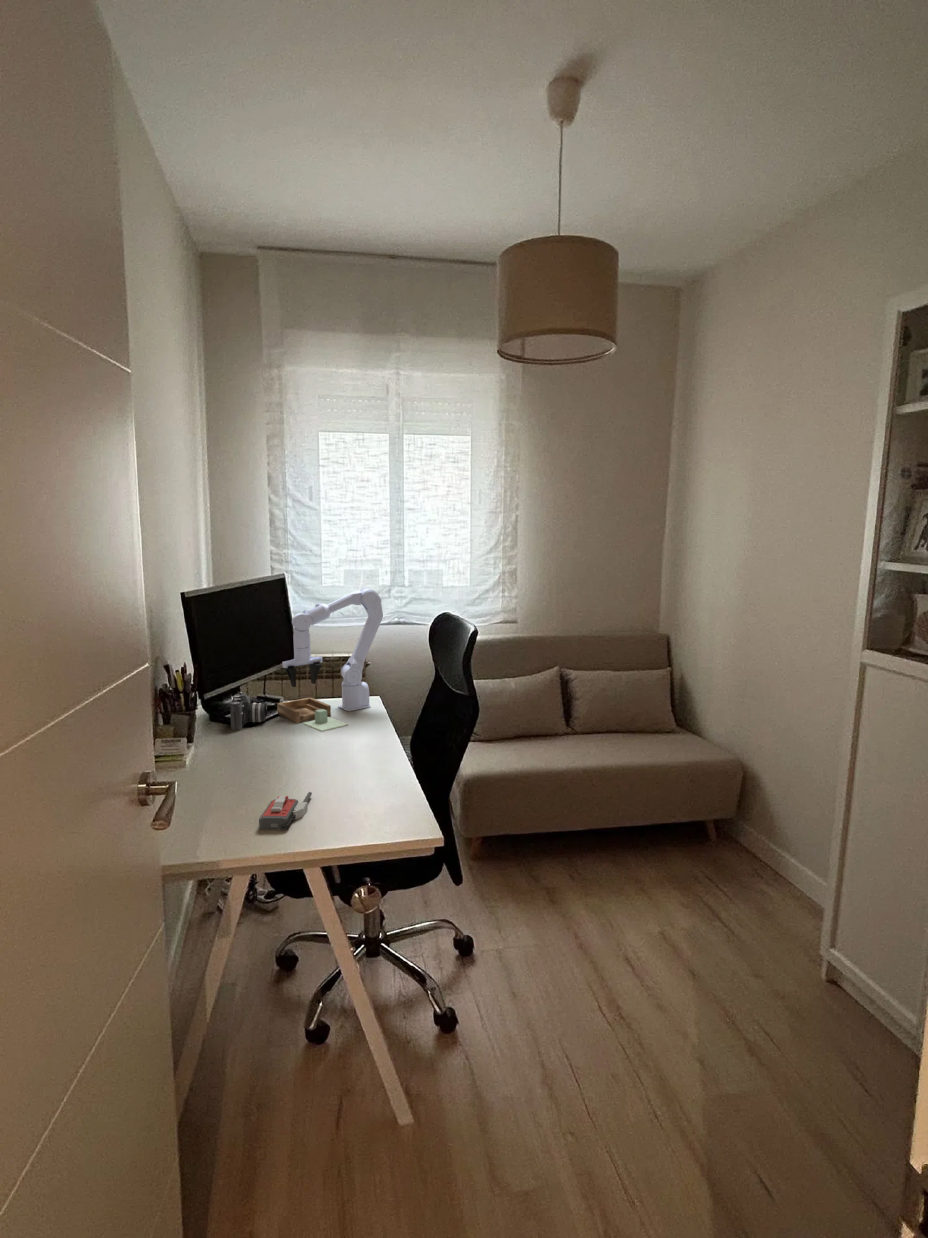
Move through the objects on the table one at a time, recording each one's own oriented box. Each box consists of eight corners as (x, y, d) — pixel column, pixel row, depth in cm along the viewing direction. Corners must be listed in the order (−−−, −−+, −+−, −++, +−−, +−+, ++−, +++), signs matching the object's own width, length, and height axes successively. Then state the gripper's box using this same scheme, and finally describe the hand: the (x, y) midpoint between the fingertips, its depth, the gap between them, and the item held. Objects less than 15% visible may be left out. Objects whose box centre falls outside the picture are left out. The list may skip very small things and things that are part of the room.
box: (311, 707, 263) (310, 697, 262) (330, 716, 251) (330, 705, 250) (277, 713, 254) (277, 703, 254) (296, 723, 243) (296, 712, 242)
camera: (263, 729, 236) (261, 700, 235) (228, 731, 235) (227, 701, 233) (267, 717, 250) (266, 689, 249) (235, 719, 248) (233, 691, 247)
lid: (328, 719, 249) (328, 705, 248) (348, 727, 240) (347, 712, 239) (303, 725, 242) (302, 711, 241) (322, 733, 233) (321, 718, 232)
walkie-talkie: (295, 833, 159) (314, 798, 179) (294, 814, 158) (314, 781, 178) (256, 833, 159) (279, 798, 179) (255, 814, 158) (278, 781, 178)
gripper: (315, 643, 261) (316, 680, 263) (277, 648, 252) (279, 686, 254) (324, 646, 255) (326, 683, 257) (286, 651, 246) (288, 689, 248)
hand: (303, 684), depth 255 cm, fingers open, 7 cm apart
